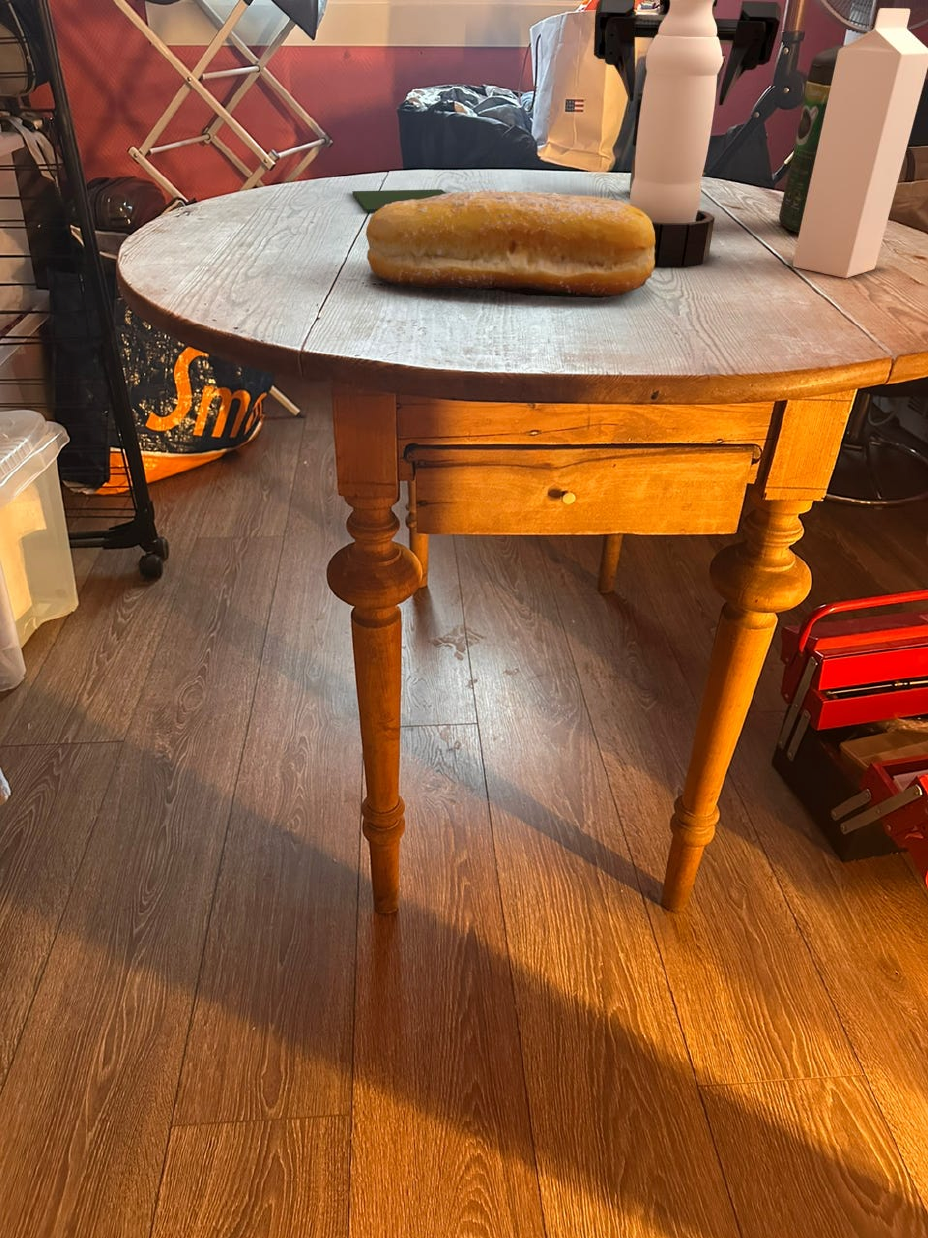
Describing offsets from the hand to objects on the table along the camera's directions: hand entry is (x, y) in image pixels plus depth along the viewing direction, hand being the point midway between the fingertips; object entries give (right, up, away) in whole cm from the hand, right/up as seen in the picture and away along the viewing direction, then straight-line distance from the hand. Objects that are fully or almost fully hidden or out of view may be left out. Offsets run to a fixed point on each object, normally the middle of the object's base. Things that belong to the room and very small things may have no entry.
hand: (676, 100), depth 95 cm
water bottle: (-2, -16, +1) cm, 16 cm away
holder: (-2, -16, +1) cm, 16 cm away
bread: (-18, -23, -10) cm, 31 cm away
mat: (-29, -1, +22) cm, 36 cm away
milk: (+16, -18, -2) cm, 24 cm away
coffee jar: (+19, -8, +13) cm, 25 cm away
